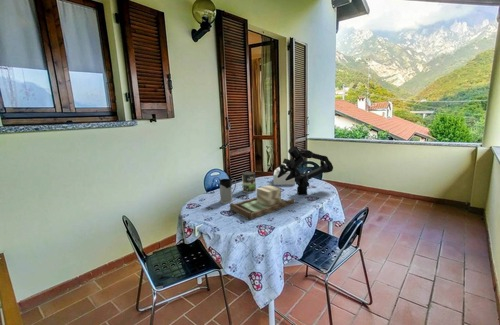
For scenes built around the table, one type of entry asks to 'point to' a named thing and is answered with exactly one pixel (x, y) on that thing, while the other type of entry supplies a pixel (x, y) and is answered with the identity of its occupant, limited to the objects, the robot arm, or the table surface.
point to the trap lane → (257, 207)
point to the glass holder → (226, 190)
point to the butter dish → (282, 178)
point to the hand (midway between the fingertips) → (281, 178)
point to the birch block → (268, 195)
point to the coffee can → (249, 182)
